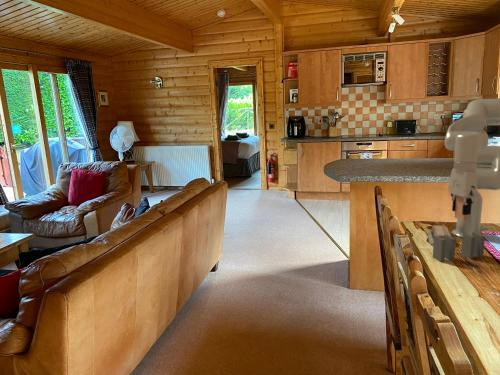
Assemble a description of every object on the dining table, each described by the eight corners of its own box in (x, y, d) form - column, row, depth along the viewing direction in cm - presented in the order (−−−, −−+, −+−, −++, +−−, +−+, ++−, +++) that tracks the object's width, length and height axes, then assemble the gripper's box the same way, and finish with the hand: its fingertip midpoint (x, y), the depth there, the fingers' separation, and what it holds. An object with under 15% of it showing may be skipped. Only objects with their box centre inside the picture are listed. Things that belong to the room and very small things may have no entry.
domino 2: (445, 256, 154) (447, 234, 152) (454, 260, 149) (455, 238, 148) (442, 256, 154) (443, 235, 152) (450, 261, 149) (452, 239, 147)
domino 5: (473, 253, 156) (475, 232, 154) (483, 257, 151) (485, 236, 150) (470, 253, 156) (472, 232, 154) (479, 258, 151) (481, 236, 149)
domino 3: (458, 217, 152) (459, 195, 150) (467, 220, 147) (468, 198, 145) (454, 217, 151) (456, 195, 150) (463, 221, 147) (465, 198, 145)
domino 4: (464, 254, 156) (466, 233, 154) (473, 258, 151) (475, 237, 149) (461, 254, 155) (462, 233, 153) (469, 259, 150) (471, 237, 149)
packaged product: (427, 223, 182) (450, 225, 178) (426, 233, 183) (450, 235, 179) (430, 235, 165) (456, 237, 162) (430, 246, 166) (455, 248, 163)
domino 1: (436, 257, 154) (437, 235, 152) (444, 261, 149) (445, 239, 147) (432, 257, 153) (434, 236, 152) (440, 262, 149) (442, 240, 147)
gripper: (441, 163, 153) (438, 208, 156) (472, 170, 136) (468, 219, 140) (458, 162, 154) (455, 206, 157) (490, 169, 137) (486, 217, 141)
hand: (461, 212), depth 149 cm, fingers closed on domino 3, 4 cm apart
